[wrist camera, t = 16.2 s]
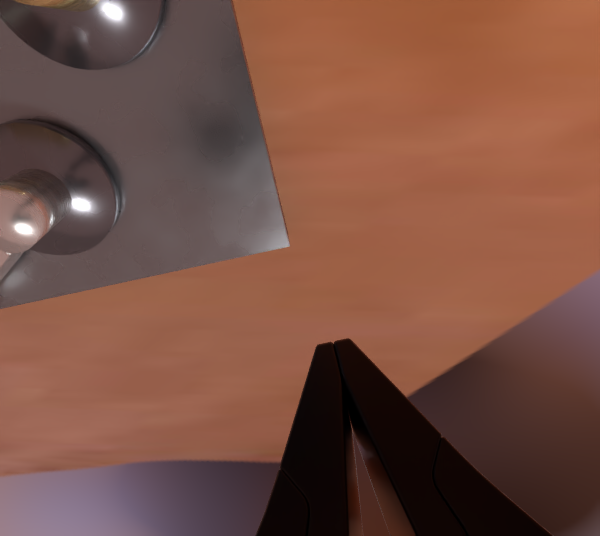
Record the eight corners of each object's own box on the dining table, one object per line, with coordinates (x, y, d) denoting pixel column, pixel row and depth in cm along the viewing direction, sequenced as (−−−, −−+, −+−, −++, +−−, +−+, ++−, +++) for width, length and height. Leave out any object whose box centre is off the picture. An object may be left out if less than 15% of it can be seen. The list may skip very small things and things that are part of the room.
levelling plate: (175, -237, 12) (156, -299, 9) (287, 233, 21) (291, 256, 19) (-297, -117, 12) (-419, -150, 10) (16, 292, 21) (-12, 321, 19)
